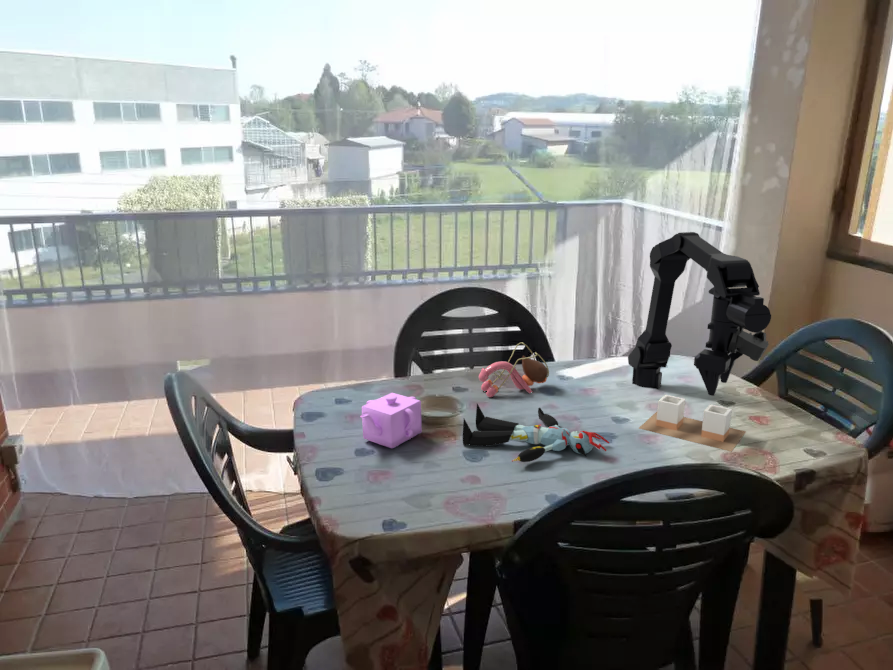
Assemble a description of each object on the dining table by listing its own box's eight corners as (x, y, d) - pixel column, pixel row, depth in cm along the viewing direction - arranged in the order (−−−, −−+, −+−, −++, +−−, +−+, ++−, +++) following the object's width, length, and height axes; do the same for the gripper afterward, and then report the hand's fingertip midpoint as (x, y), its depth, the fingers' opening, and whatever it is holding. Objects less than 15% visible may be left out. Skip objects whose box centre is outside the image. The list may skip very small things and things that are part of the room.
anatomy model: (464, 375, 177) (504, 327, 176) (504, 406, 183) (543, 359, 182) (477, 390, 167) (520, 339, 166) (519, 422, 172) (561, 372, 172)
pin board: (638, 433, 150) (639, 413, 149) (657, 415, 159) (658, 397, 158) (730, 456, 139) (733, 436, 137) (745, 436, 148) (747, 416, 146)
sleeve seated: (656, 425, 151) (658, 400, 149) (663, 418, 155) (665, 394, 153) (676, 430, 148) (678, 405, 147) (683, 423, 152) (685, 398, 150)
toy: (488, 389, 160) (616, 399, 149) (489, 419, 163) (616, 431, 151) (450, 432, 137) (598, 447, 126) (452, 466, 140) (598, 484, 129)
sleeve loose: (723, 441, 143) (726, 415, 141) (701, 436, 145) (703, 410, 144) (729, 434, 146) (731, 408, 144) (707, 429, 149) (710, 404, 147)
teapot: (384, 463, 138) (382, 418, 135) (337, 446, 146) (334, 403, 143) (437, 433, 152) (437, 391, 149) (392, 418, 160) (390, 379, 157)
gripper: (756, 336, 127) (746, 411, 132) (777, 315, 141) (768, 383, 146) (696, 327, 134) (689, 399, 138) (723, 307, 148) (715, 373, 152)
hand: (717, 388), depth 143 cm, fingers open, 9 cm apart
